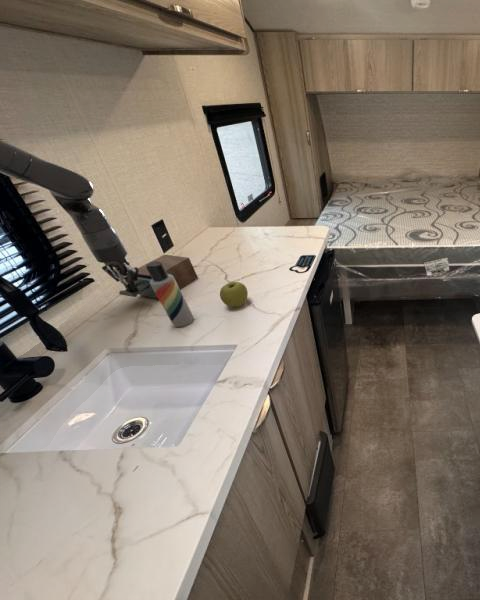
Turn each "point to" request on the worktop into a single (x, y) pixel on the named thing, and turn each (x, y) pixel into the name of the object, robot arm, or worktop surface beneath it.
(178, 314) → the lotion bottle
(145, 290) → the drawer
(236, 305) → the apple
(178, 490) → the worktop surface
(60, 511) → the worktop surface
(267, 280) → the worktop surface
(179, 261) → the cabinet
